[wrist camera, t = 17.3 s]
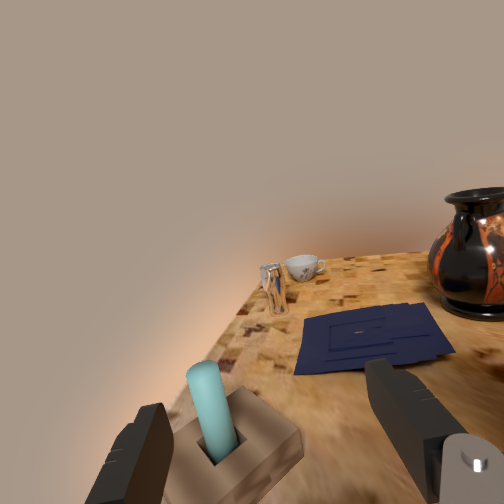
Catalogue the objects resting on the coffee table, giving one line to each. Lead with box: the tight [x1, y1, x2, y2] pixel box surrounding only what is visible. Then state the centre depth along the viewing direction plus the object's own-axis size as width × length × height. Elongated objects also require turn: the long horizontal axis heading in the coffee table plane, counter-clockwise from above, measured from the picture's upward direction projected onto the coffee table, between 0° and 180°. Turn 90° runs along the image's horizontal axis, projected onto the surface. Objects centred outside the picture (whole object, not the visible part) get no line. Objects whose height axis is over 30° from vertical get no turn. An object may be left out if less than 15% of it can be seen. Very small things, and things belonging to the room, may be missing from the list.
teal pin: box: [186, 360, 239, 467], centre depth 42 cm, size 4×4×16 cm
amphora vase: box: [427, 187, 504, 321], centre depth 68 cm, size 22×22×28 cm
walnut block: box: [163, 386, 304, 504], centre depth 43 cm, size 18×14×5 cm
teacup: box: [285, 255, 326, 282], centre depth 112 cm, size 15×12×8 cm
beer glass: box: [260, 263, 289, 317], centre depth 88 cm, size 7×7×15 cm
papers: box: [294, 302, 456, 375], centre depth 67 cm, size 24×30×4 cm
